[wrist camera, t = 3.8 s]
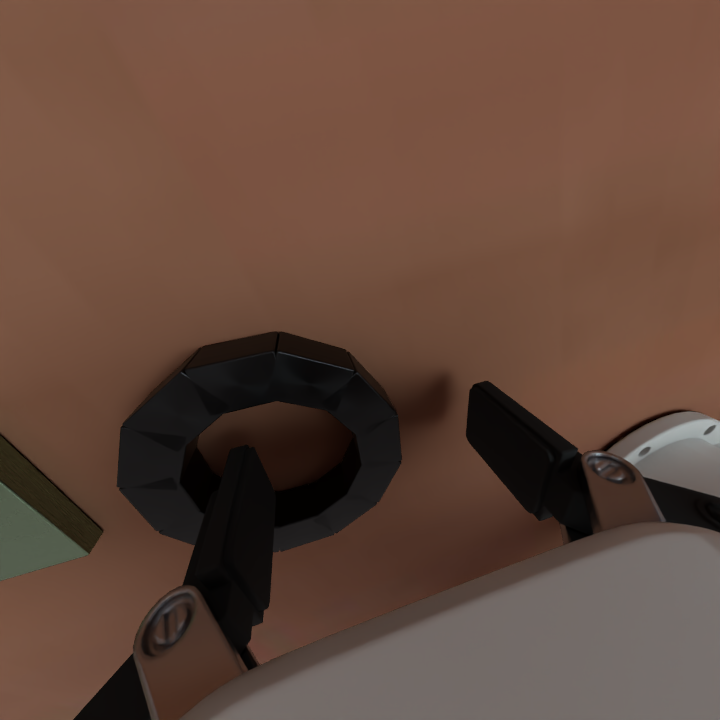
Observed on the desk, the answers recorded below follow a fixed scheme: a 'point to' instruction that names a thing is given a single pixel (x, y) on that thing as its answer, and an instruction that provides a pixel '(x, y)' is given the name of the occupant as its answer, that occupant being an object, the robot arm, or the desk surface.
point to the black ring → (247, 389)
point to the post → (37, 519)
